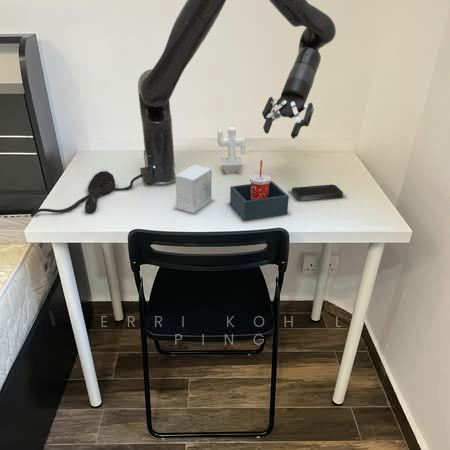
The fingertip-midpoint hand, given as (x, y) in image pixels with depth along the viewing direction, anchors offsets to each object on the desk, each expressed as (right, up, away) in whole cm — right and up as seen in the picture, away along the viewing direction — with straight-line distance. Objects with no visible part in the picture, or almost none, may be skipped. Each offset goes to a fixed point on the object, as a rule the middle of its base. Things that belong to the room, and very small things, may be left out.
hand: (279, 134), depth 133 cm
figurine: (-14, -3, +28) cm, 31 cm away
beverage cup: (-6, -20, +3) cm, 21 cm away
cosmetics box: (-25, -19, +6) cm, 32 cm away
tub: (-6, -21, +4) cm, 22 cm away
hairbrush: (-55, -16, +10) cm, 58 cm away
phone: (+13, -15, +13) cm, 24 cm away
